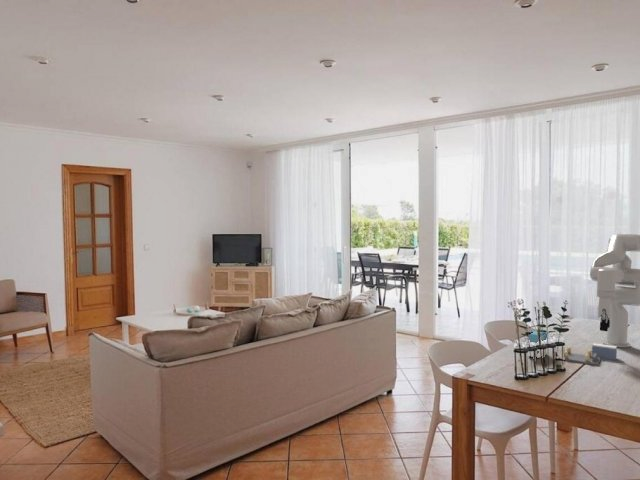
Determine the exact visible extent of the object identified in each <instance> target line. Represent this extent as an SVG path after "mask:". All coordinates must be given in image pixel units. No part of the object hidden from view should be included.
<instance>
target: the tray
mask: <svg viewBox="0 0 640 480" xmlns="http://www.w3.org/2000/svg"><path fill="white" fill-rule="evenodd" d="M566 349H567V350H564V357H565V361H566V362H571V363H576V362H578V364H582V363H583V365H591V366H596V367H598V366H599V365H600V362H601V359H602V358H601V357H597V353H594V355H593V356H592V349H591V350H590V349H588V350H587V354H582V353H581V354H580V353H574V352H572V347H569V346H568V347H567V348H566Z"/></svg>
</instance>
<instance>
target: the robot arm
mask: <svg viewBox="0 0 640 480" xmlns="http://www.w3.org/2000/svg"><path fill="white" fill-rule="evenodd" d="M627 252H638V253H639V252H640V234H635V233H634V234H633V233H630V234H629V233H618V234H617V233H616V234H613V235H612V236H611V237H609V239H608V244H607V249H606V251H605V253H602V254H601V255H599V256H598V257H597V258H595V259H594V260H593V262H592V265H591V267H590V271H589V277H590V279H591V280H592V281H593V282H596V288H597V289H596V297H597V298H598V306H597V318H600V322H599V331H600V332H606V335H605V337H606V338H605V339H603V340H602V344H603V345H610V346H617V348H623V349H624V348H630V347H631V343H630V342H628V328H629V327H628V322H629V314H628V313H629V312H628V310H627V309H626V307H624V306H634V307H640V268H632V259H631V257H630V256H629V255H628V254H627ZM611 265H612V267H608V266H611Z"/></svg>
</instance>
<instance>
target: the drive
mask: <svg viewBox="0 0 640 480" xmlns="http://www.w3.org/2000/svg"><path fill="white" fill-rule="evenodd" d="M617 349H618V347H617V346H610V345H605V344H604V343H595V342H593V343H592V345H591V351H592V356H593V355H594V353H597V357H601V359H604V360H605V359H606V360H611V361H617V354H618V352H617V351H618V350H617Z"/></svg>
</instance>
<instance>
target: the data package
mask: <svg viewBox="0 0 640 480" xmlns="http://www.w3.org/2000/svg"><path fill="white" fill-rule="evenodd" d="M532 332H533V333H531V332H530V333H531V334H530V335H529V334H528V336H529V340H530V342H535V343H537V342H538V335H537V332H536V330H534V331H532ZM546 338H547V339H548V337H547V334H546V333H545V332H541V340H542V341H543V340H546ZM538 353H539V351H537V354H538Z"/></svg>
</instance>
